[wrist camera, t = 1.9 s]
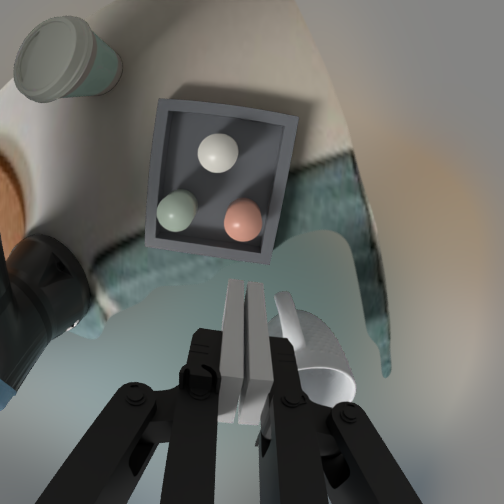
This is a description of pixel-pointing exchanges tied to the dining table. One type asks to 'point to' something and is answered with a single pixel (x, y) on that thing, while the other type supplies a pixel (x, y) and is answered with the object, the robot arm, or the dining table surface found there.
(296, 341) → the mug
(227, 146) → the button ivory
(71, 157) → the dining table surface
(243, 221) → the button coral
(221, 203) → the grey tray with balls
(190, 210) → the button sage
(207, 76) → the dining table surface
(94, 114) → the dining table surface
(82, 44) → the coffee cup
